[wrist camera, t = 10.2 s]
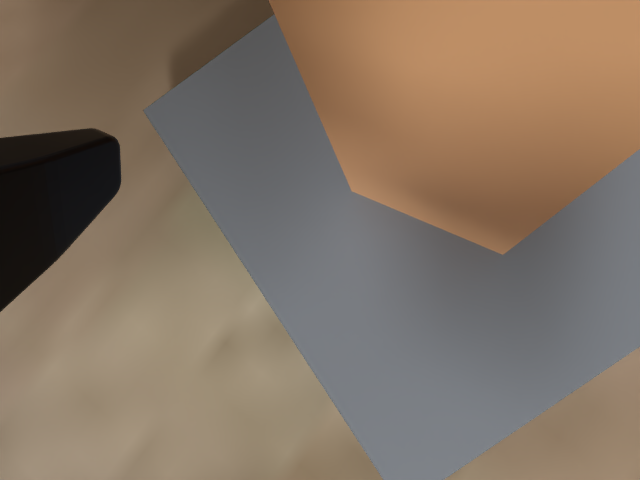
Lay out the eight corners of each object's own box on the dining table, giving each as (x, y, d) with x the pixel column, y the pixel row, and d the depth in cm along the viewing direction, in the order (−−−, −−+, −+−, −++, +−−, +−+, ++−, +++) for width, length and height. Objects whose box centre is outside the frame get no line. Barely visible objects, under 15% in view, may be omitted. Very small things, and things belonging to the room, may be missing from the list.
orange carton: (502, 254, 15) (939, -83, 3) (351, 191, 16) (146, -281, 4) (568, 106, 16) (1228, -819, 3) (415, 52, 17) (434, -823, 4)
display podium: (788, 219, 17) (854, 200, 14) (402, 482, 17) (401, 508, 15) (495, -98, 20) (507, -157, 17) (175, 136, 20) (143, 110, 18)
